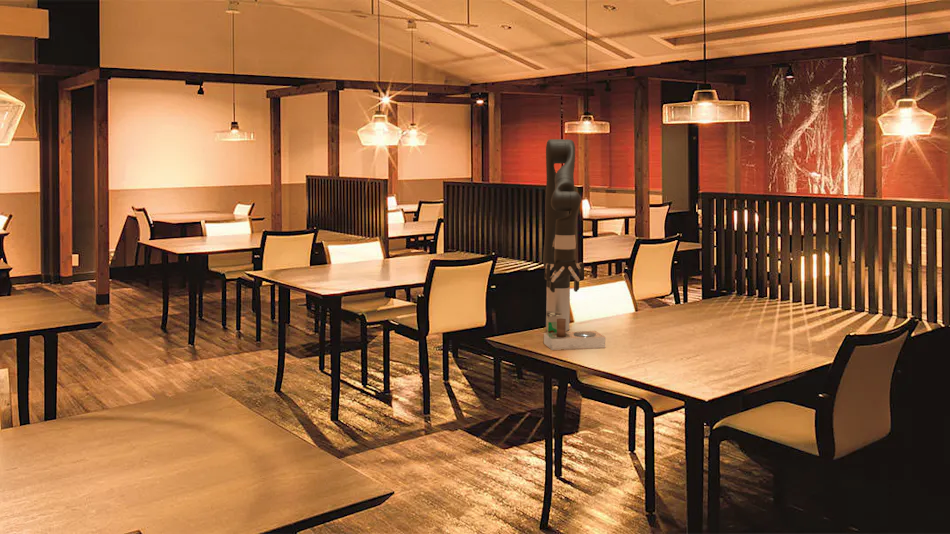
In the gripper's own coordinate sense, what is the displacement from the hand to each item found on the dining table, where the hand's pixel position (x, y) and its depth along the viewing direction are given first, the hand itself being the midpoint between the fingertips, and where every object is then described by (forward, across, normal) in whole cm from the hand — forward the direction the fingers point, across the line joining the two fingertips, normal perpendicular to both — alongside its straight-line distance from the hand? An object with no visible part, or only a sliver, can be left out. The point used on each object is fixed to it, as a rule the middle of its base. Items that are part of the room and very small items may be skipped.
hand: (564, 291), depth 312 cm
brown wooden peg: (+20, +1, 0) cm, 20 cm away
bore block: (+20, -4, 0) cm, 21 cm away
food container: (+21, 0, -11) cm, 24 cm away
